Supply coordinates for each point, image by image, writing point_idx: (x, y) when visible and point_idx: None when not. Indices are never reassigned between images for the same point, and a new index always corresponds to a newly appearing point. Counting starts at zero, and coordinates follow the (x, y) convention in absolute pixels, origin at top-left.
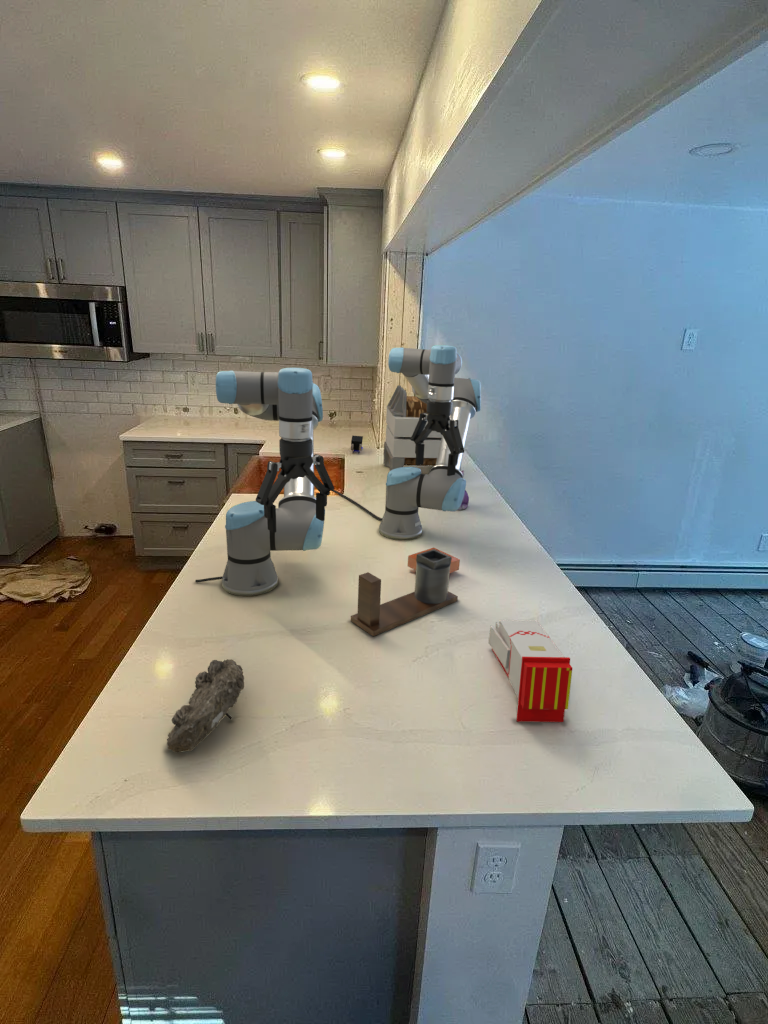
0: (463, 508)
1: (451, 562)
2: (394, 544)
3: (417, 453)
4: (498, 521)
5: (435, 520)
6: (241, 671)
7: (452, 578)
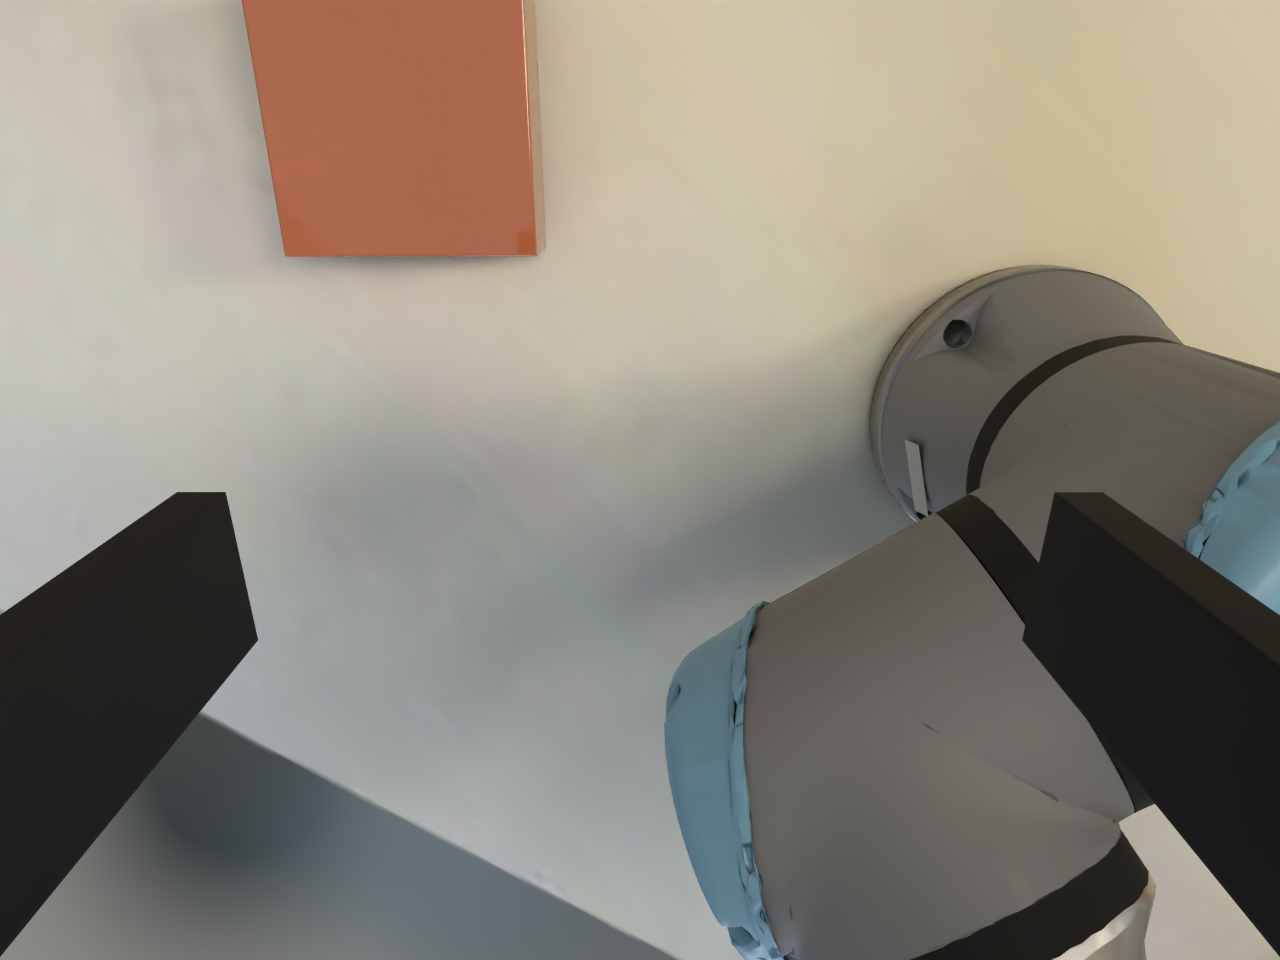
0: None
1: (270, 165)
2: (904, 236)
3: (1249, 633)
4: None
5: None
6: None
7: None
